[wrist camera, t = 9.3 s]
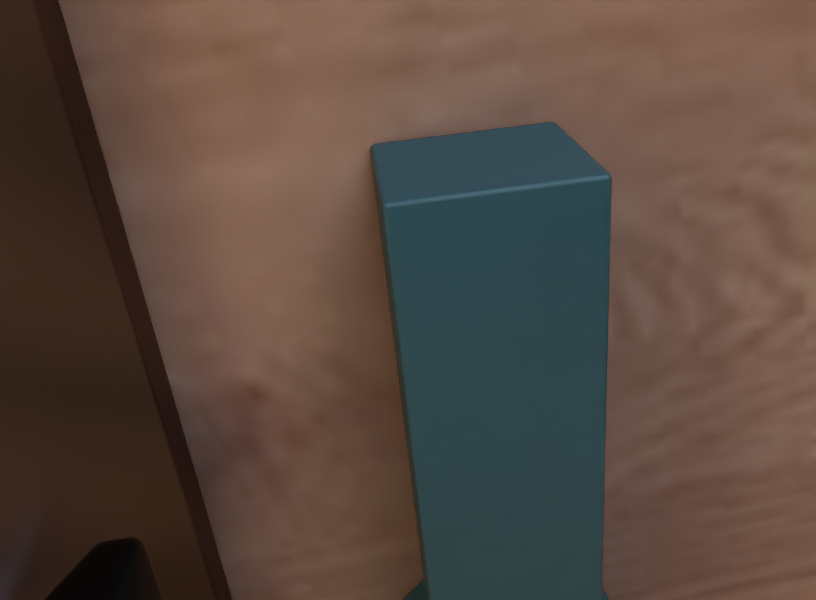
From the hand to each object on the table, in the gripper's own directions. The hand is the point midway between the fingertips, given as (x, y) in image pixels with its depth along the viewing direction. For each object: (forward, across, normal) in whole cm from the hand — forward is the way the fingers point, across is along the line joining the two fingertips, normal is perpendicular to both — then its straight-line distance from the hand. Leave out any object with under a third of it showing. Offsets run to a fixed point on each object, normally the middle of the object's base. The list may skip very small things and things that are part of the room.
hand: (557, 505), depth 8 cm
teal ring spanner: (+7, 0, +5) cm, 8 cm away
